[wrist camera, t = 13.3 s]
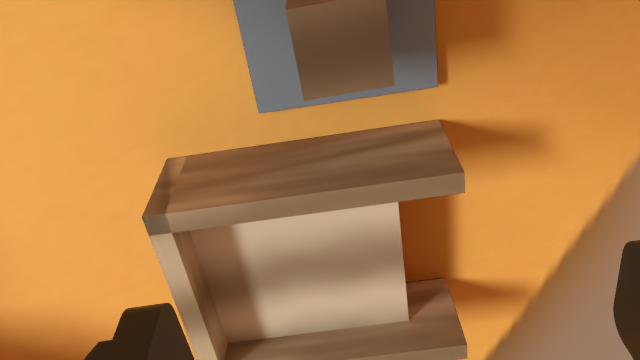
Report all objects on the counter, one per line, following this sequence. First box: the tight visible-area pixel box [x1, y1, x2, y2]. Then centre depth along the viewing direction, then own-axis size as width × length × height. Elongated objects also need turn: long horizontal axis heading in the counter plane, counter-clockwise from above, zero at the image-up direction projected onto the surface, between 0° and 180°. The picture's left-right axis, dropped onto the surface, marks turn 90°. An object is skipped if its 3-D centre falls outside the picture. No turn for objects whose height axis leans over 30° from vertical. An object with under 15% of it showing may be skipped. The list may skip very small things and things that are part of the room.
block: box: [286, 0, 395, 101], centre depth 26 cm, size 4×4×6 cm
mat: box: [233, 0, 438, 113], centre depth 29 cm, size 10×10×1 cm
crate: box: [142, 120, 467, 360], centre depth 34 cm, size 13×16×6 cm
